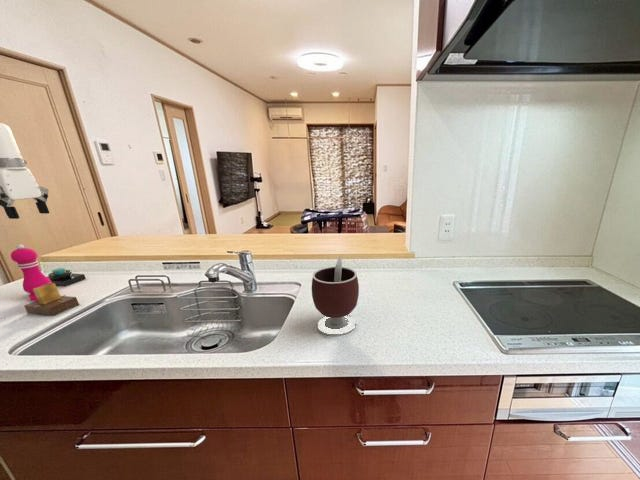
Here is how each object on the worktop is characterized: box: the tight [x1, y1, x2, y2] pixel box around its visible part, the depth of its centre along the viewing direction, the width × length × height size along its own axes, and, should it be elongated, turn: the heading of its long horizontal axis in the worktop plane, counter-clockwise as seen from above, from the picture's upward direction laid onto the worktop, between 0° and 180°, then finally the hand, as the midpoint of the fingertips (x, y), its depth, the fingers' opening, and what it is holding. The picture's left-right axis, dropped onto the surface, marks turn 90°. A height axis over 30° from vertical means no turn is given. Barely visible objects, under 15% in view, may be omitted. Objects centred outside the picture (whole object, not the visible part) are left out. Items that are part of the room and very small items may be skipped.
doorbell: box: [46, 269, 87, 288], centre depth 120 cm, size 12×8×4 cm, turn 82°
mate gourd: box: [311, 255, 360, 337], centre depth 89 cm, size 16×14×20 cm
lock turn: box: [33, 283, 62, 305], centre depth 97 cm, size 5×2×6 cm, turn 172°
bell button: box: [51, 267, 66, 275], centre depth 119 cm, size 4×4×2 cm
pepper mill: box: [10, 243, 52, 302], centre depth 104 cm, size 7×7×20 cm
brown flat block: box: [23, 294, 80, 317], centre depth 99 cm, size 10×9×3 cm
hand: (30, 215), depth 104 cm, fingers open, 9 cm apart
